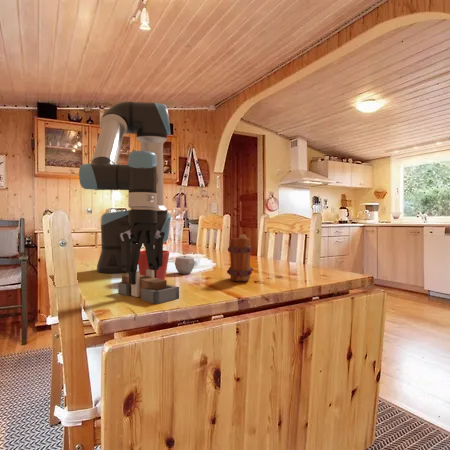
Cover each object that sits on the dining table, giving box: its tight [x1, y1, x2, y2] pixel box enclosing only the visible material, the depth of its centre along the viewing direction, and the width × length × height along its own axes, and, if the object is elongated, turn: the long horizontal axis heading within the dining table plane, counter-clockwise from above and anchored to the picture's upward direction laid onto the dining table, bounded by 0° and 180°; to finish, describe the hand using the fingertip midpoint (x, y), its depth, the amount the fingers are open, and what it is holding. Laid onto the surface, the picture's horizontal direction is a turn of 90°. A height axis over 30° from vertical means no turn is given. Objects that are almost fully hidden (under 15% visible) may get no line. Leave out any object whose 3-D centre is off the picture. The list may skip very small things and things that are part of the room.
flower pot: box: [137, 249, 170, 280], centre depth 112 cm, size 11×11×10 cm
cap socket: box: [141, 284, 180, 305], centre depth 87 cm, size 6×8×3 cm
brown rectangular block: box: [121, 273, 168, 298], centre depth 91 cm, size 15×4×5 cm, turn 48°
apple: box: [174, 255, 196, 275], centre depth 125 cm, size 8×8×7 cm
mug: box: [226, 233, 254, 283], centre depth 114 cm, size 15×8×15 cm, turn 168°
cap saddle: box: [117, 281, 130, 297], centre depth 95 cm, size 4×8×3 cm, turn 139°
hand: (143, 294), depth 91 cm, fingers open, 4 cm apart
